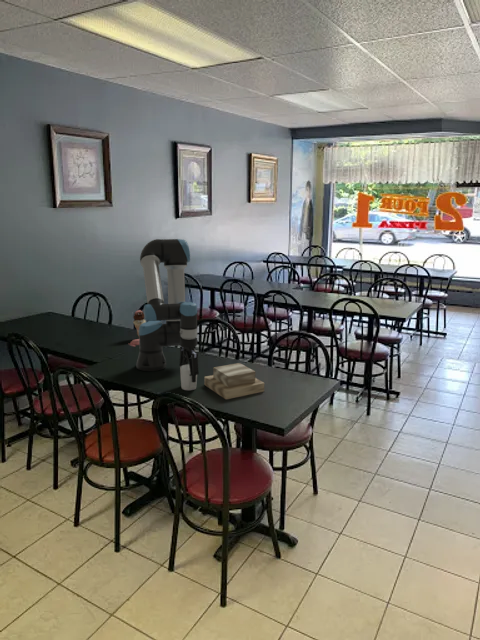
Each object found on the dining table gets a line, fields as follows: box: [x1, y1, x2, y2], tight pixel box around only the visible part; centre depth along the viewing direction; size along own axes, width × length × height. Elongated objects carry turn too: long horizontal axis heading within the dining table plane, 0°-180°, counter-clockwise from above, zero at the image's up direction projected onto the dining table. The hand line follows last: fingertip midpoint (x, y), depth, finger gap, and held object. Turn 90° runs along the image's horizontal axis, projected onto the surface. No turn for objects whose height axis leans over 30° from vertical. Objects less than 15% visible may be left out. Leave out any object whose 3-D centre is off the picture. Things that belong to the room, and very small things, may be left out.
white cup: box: [179, 363, 198, 391], centre depth 228 cm, size 8×8×10 cm
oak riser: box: [204, 362, 265, 400], centre depth 229 cm, size 20×20×9 cm
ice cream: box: [129, 309, 147, 348], centre depth 299 cm, size 16×16×18 cm
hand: (188, 385), depth 228 cm, fingers closed on white cup, 8 cm apart
